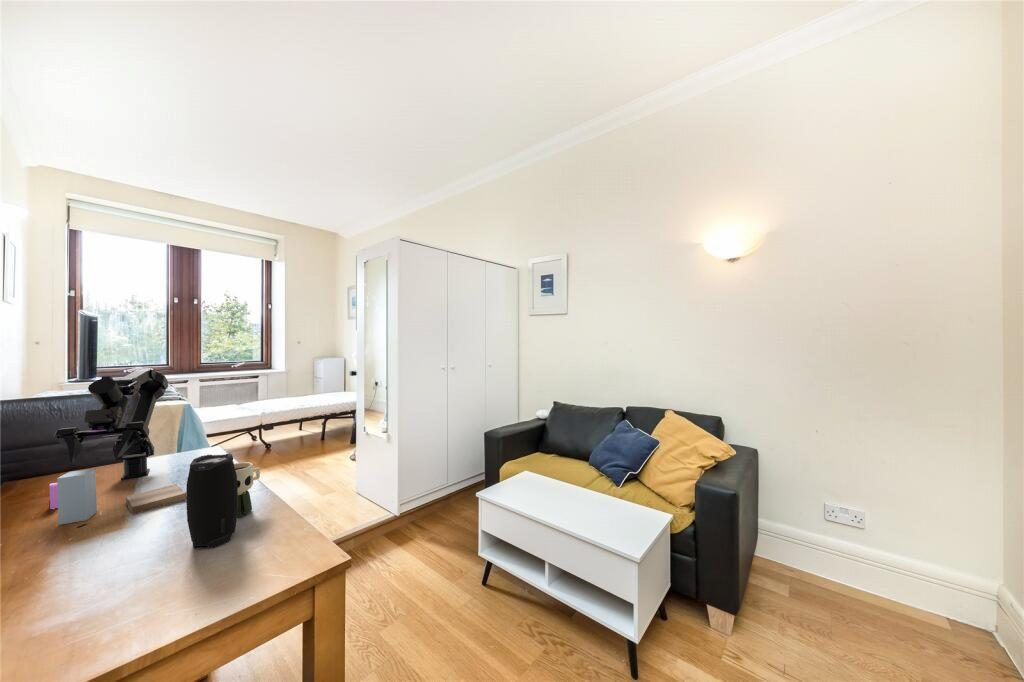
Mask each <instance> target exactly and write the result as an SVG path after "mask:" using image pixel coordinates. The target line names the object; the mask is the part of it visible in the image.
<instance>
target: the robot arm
mask: <svg viewBox="0 0 1024 682" xmlns="http://www.w3.org/2000/svg"><path fill="white" fill-rule="evenodd" d="M168 388H169V381H168V379H167V377H166V376H165V375H164V374H162V373H159V372H157V371H156V368H152V367H149V368H148V367H147V368H145V367H144V368H137V369H134V371H132V372H131V373H129V374H126V375H125V376H123V377H116V378H114V377H113V376H111V375H104V376H101V378H100V379H97V380H95V381H93V382H91V383H90V384H89V385H88V392H89V393H90V394H91V396H92V397H93V399H94V400H95V402H96V403H97V404H101V405H100V407H99V409H91V410H90V409H88V410H85V413H84V417H83V423H87V427H88V429H91V430H80V428H79V427H78V426H73V427H64V428H63V427H61V428H59V429H57V430H56V431H55V432H54V435H53V438H54V439H55V440H56V441H57V442H58V443H59V444H60V446H64V447H66V448H67V450H68V458H69V462H70V464H74V463H75V461H76V460H77V458H78V456H79V454H80V452H81V449H82V448H83V444H82V443H83V442H84V440H85V439H89V438H98V437H99V438H100V437H111V436H112V437H113V436H117V438H116V440H115V442H114V444H113V447H112V451H113V456H114V460H115V462H117V461H123V473H122V475H121V477H120V480H125V479H126V480H128V479H132V478H137V477H143V476H147V475H149V472H150V470H151V468H148V458H150V457H152V456H154V455H155V446H154V445H153V443H152V441H151V438H150V437H149V436H150V429H149V425H150V421H151V419H152V415H153V412H154V409H155V407H156V402H157V401H158V400H159V399H160V398H161V397H163V396H164V395H165V393H166V390H167V389H168ZM137 393H138V396H139V398H138V400H137V404H136V407H135V409H134V412H133V415H132V418H131V420H130V422H127V423H126V424H125V427H121V426H122V423H125V421H126V419H125V415H126V413H127V410H128V409H129V408H130V404H131V403H130V399H129V396H130V397H132V396H135V395H136V394H137Z"/></svg>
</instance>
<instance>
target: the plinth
mask: <svg viewBox="0 0 1024 682" xmlns="http://www.w3.org/2000/svg"><path fill="white" fill-rule="evenodd" d="M185 499H186V491H184V490H183V488H182V487H181V486H179V485H178V484H177V483H175V484H171V485H167V486H163V487H159V488H155V489H151V490H150V489H149V490H148V491H143V492H139V493H135V494H130V495H127V496H125V504H126V506H127V507H128V509H129V511H130V512H131V514H132V515H136V514H139V513H143V512H147V511H151V510H154V509H158V508H161V507H164V506H168V505H172V504H175V503H179V502H178V501H180V502H183V501H186V500H185ZM182 500H183V501H182Z"/></svg>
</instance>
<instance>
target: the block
mask: <svg viewBox="0 0 1024 682" xmlns="http://www.w3.org/2000/svg"><path fill="white" fill-rule="evenodd" d="M56 480H57V481H56V483H57V486H58V508H57V509H58V511H57V512H58V525H59V526H60V525H65V524H71V523H77V522H84V521H87V520H88V519H90V518H91V517H92V516H93V515H95V514H96V513H97V509H98V507H97V484H96V483H97V478H96V468H90V469H84V470H83V469H81V470H72V471H68V472H66V473H65V474H63V475H61V476H59V477H57V478H56Z"/></svg>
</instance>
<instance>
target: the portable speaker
mask: <svg viewBox="0 0 1024 682" xmlns="http://www.w3.org/2000/svg"><path fill="white" fill-rule="evenodd" d="M234 464H235V462H234V455H233V453H226V454H206V455H201V456H198V457H195V458H193V459H192V461H191V463H190V464H189V471H188V475H187V480H186V491H185V492H186V500H185V503H186V520H187V526H188V530H189V536H190V540H191V543H192V548H193V549H195V548H198V546H207V547H208V548H211V549H212V548H217V547H219V546H222V545H224V544H226V543H228V542H229V541H231V539H232V536H233V535H234V533H235V532H236V527H237V521H238V520H237V519H238V517H237V515H238V487H237V474H236V470H235V466H234Z"/></svg>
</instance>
